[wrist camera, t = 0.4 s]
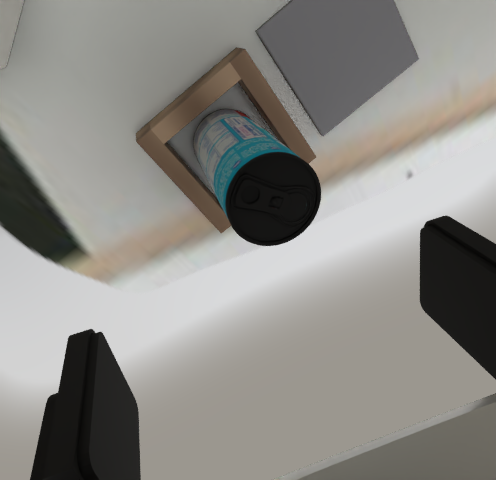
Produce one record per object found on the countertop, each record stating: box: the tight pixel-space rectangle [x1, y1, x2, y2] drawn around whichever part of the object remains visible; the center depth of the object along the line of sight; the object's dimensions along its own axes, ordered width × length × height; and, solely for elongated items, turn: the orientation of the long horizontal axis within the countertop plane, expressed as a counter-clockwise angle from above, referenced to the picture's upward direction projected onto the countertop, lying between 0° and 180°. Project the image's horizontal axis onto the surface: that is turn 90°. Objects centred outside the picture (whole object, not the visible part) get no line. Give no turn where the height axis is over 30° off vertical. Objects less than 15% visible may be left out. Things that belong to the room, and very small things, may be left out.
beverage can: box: [194, 109, 321, 246], centre depth 31 cm, size 6×6×15 cm
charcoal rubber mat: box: [256, 0, 419, 136], centre depth 36 cm, size 11×11×1 cm
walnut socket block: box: [136, 47, 316, 233], centre depth 37 cm, size 11×11×3 cm
